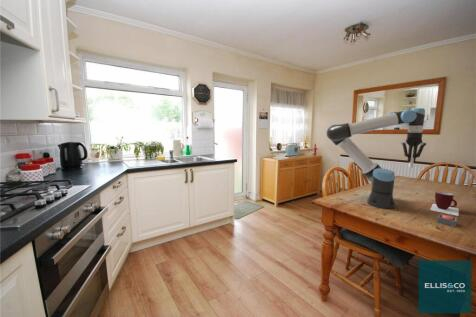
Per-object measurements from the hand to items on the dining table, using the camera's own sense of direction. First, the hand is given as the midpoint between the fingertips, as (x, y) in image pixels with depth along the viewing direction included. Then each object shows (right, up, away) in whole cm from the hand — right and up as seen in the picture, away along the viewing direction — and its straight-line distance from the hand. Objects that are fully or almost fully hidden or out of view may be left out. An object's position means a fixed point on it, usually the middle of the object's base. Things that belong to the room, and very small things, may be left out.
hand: (410, 167), depth 138 cm
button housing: (-5, -29, -29) cm, 41 cm away
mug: (+12, -26, -11) cm, 31 cm away
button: (-5, -27, -29) cm, 40 cm away
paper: (+12, -26, -11) cm, 31 cm away
